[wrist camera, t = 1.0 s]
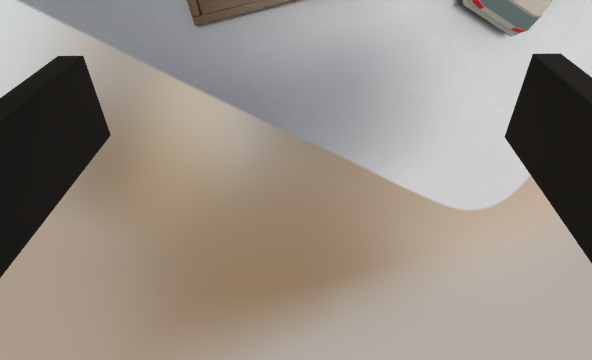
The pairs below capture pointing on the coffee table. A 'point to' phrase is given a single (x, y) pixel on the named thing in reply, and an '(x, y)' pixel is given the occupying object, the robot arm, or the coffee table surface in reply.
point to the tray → (228, 9)
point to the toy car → (509, 13)
